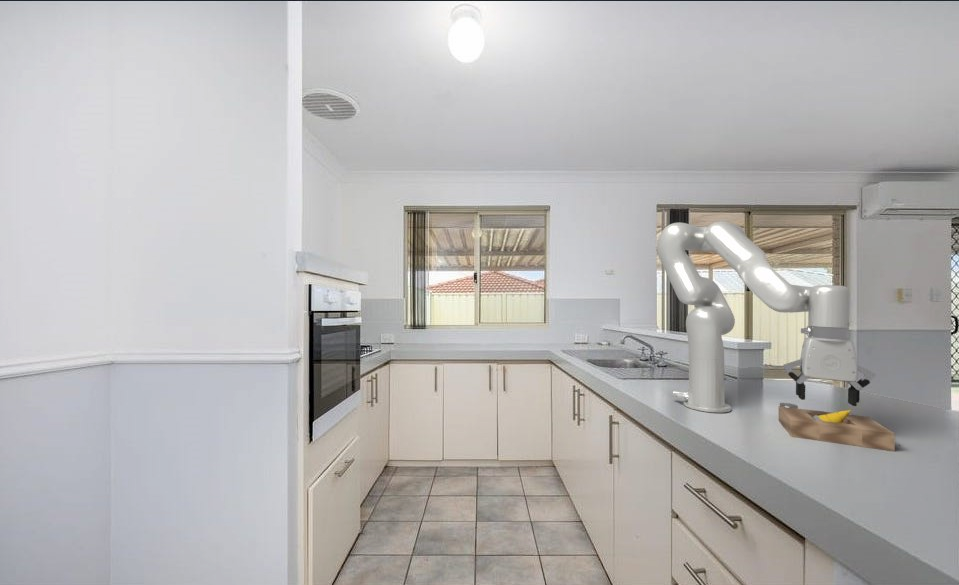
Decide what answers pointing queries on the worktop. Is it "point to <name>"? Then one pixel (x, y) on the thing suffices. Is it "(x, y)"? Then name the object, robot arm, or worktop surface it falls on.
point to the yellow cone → (833, 416)
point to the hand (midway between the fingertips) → (826, 401)
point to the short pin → (788, 405)
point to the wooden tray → (836, 429)
